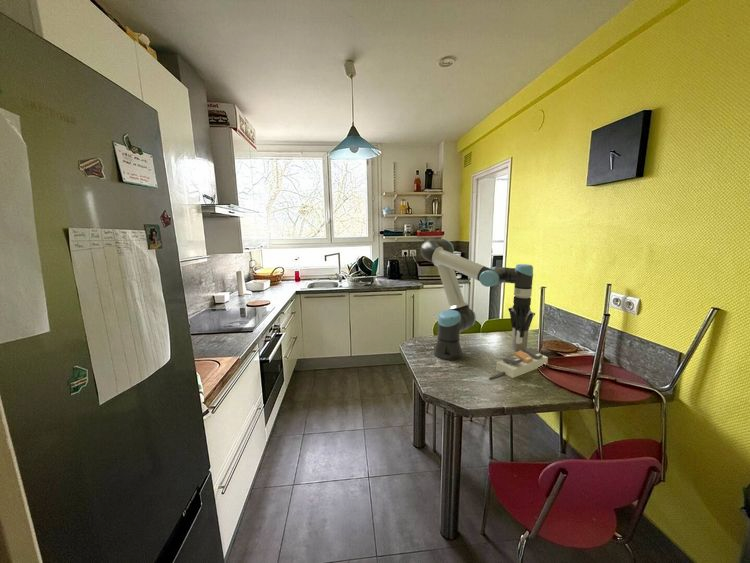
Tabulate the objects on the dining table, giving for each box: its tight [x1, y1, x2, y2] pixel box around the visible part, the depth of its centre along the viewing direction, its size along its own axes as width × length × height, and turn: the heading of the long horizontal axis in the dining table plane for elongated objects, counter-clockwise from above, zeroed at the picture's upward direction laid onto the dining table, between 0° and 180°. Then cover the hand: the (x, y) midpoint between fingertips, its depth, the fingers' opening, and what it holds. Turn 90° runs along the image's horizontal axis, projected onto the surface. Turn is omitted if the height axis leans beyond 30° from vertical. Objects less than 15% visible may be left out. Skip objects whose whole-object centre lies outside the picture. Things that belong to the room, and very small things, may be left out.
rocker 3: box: [524, 347, 544, 359], centre depth 148 cm, size 7×5×2 cm
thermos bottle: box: [510, 312, 529, 353], centre depth 165 cm, size 8×8×28 cm
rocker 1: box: [502, 356, 523, 364], centre depth 140 cm, size 7×5×2 cm
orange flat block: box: [513, 351, 533, 363], centre depth 144 cm, size 7×5×2 cm
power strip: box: [488, 352, 549, 380], centre depth 142 cm, size 9×38×5 cm, turn 120°
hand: (519, 342), depth 146 cm, fingers closed
